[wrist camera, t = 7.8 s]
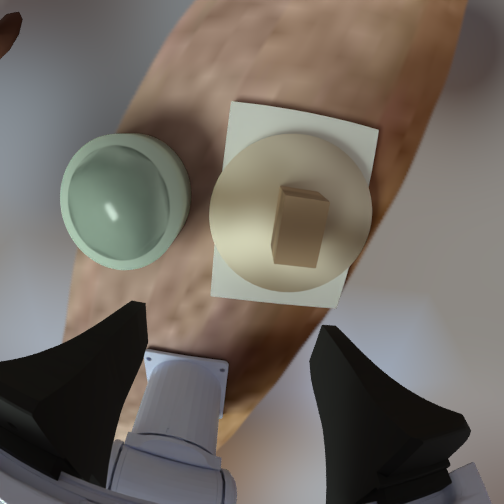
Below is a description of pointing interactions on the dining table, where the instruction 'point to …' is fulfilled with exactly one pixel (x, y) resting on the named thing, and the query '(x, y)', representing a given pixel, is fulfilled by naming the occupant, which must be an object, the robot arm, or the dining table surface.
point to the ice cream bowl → (9, 31)
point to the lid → (290, 212)
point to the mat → (275, 123)
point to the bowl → (125, 199)
